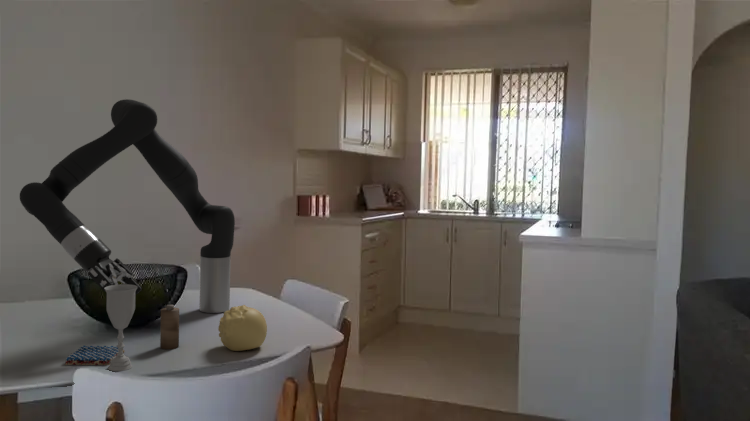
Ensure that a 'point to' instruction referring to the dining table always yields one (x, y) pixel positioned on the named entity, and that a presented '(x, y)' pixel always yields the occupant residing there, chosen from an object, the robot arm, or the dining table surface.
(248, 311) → the sculpture
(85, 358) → the woven mat
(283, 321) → the dining table surface
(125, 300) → the chalice
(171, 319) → the walnut pepper mill
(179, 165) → the robot arm
